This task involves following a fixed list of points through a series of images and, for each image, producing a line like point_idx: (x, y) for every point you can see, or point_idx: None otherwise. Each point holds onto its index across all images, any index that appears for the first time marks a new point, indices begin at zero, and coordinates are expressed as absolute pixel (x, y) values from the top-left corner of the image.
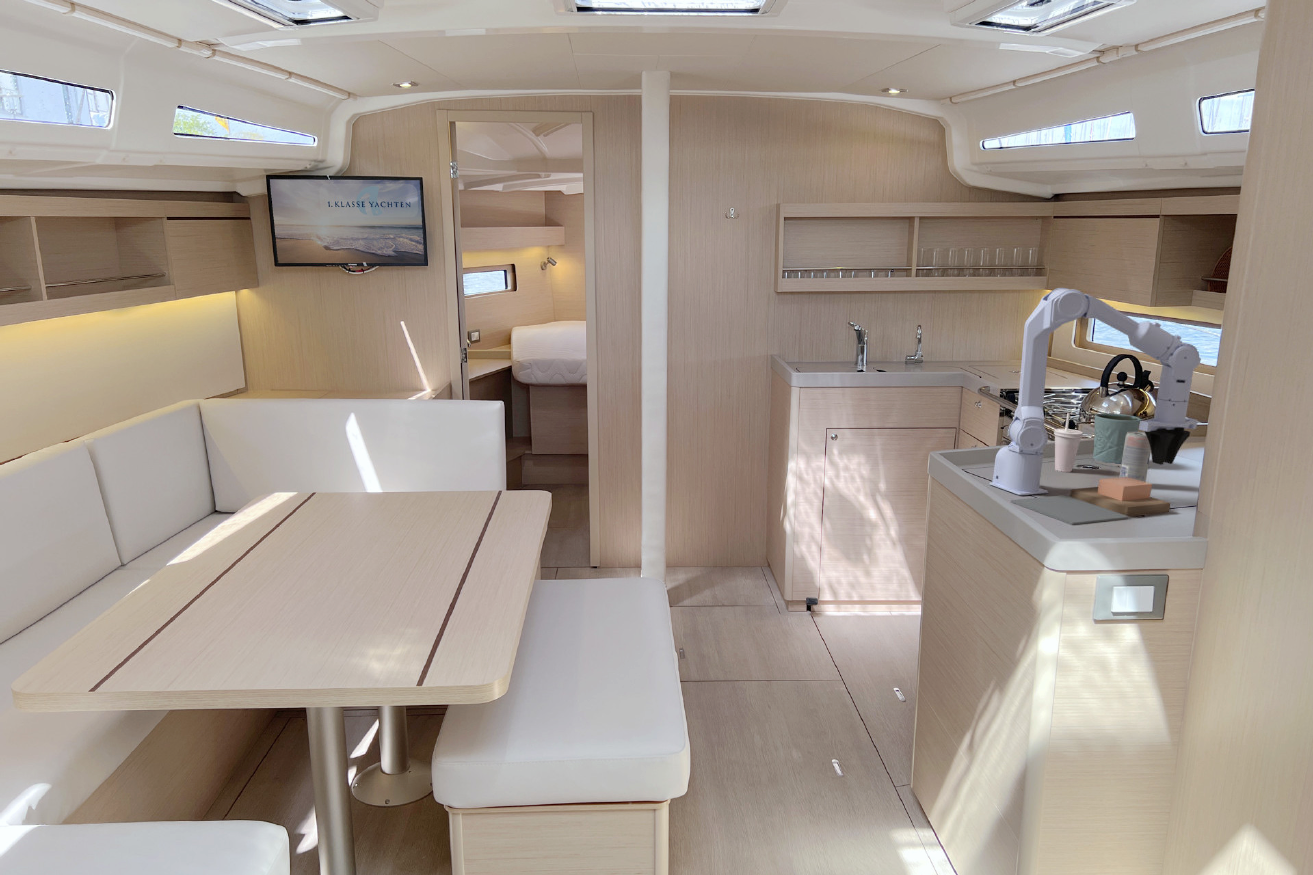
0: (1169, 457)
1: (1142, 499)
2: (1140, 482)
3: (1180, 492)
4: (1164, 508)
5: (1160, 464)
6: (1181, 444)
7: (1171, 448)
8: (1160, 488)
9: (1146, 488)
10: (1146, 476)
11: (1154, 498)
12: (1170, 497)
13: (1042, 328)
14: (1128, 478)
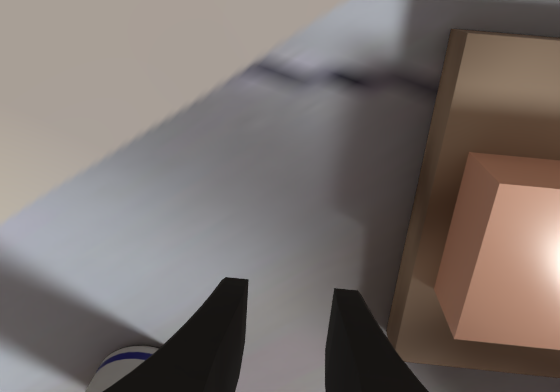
0: (240, 325)
1: (546, 147)
2: (529, 234)
3: (27, 242)
4: (501, 34)
5: (357, 293)
6: (140, 377)
7: (216, 390)
8: (66, 310)
9: (534, 177)
10: (98, 381)
11: (451, 136)
12: (156, 207)
13: None
14: (488, 316)
